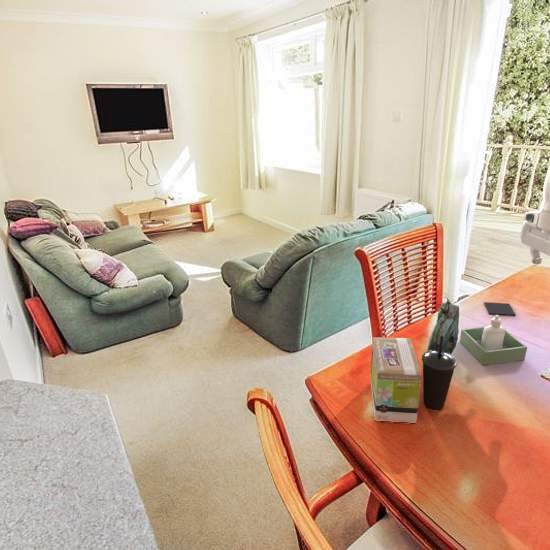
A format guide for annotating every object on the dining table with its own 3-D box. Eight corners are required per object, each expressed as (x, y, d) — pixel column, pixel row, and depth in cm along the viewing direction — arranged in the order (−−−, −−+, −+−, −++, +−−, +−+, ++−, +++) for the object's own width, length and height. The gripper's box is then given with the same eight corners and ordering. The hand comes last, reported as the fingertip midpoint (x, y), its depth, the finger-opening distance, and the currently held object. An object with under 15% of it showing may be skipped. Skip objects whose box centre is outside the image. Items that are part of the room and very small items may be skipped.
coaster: (509, 304, 134) (509, 303, 134) (515, 316, 127) (515, 314, 127) (484, 303, 136) (484, 302, 136) (489, 314, 129) (489, 313, 129)
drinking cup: (443, 420, 89) (453, 350, 81) (412, 405, 94) (418, 339, 86) (454, 401, 94) (465, 334, 86) (424, 389, 99) (431, 324, 91)
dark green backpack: (436, 346, 115) (443, 288, 107) (459, 352, 112) (468, 292, 103) (418, 384, 100) (425, 320, 92) (444, 393, 97) (453, 327, 89)
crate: (496, 336, 117) (499, 324, 115) (524, 360, 106) (527, 347, 104) (459, 341, 116) (461, 329, 115) (483, 365, 105) (485, 352, 103)
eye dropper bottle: (501, 356, 108) (508, 321, 103) (479, 352, 111) (485, 317, 106) (501, 348, 112) (508, 313, 107) (479, 344, 114) (485, 310, 109)
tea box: (418, 425, 88) (423, 374, 82) (374, 422, 90) (375, 373, 84) (407, 382, 102) (411, 336, 96) (369, 380, 103) (371, 335, 97)
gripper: (607, 230, 86) (593, 284, 91) (541, 209, 104) (533, 255, 110) (581, 233, 85) (568, 287, 91) (519, 212, 104) (512, 258, 110)
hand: (548, 269), depth 101 cm, fingers open, 8 cm apart
